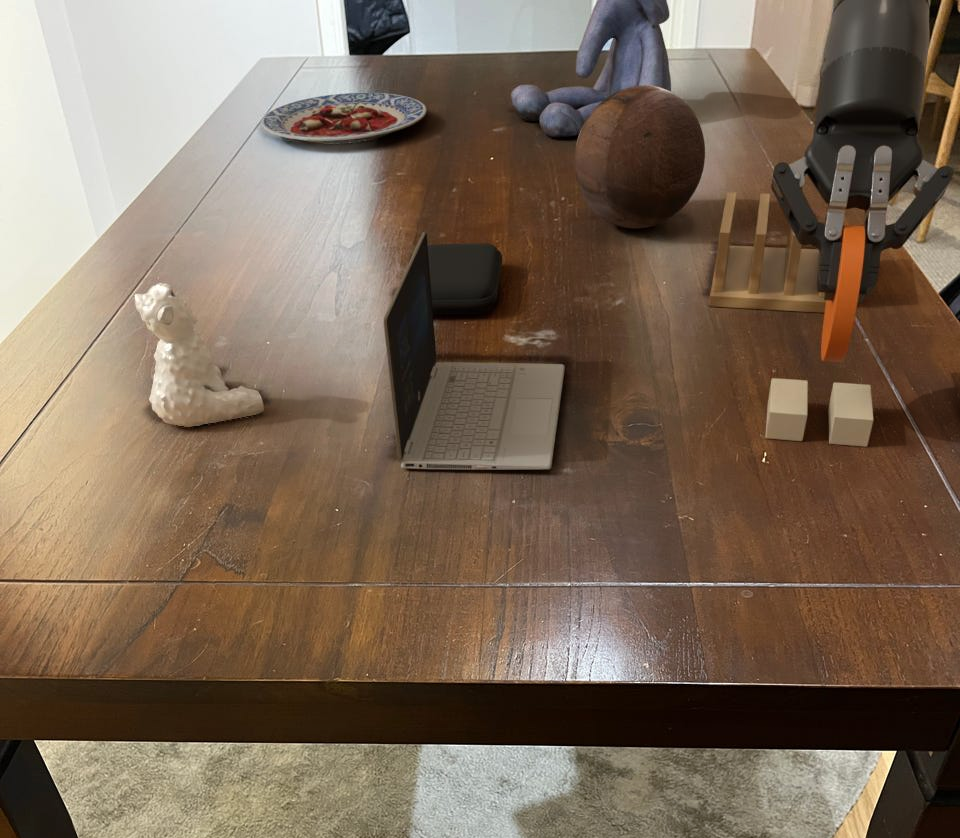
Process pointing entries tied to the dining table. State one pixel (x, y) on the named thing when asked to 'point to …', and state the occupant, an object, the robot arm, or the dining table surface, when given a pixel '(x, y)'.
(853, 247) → the disc
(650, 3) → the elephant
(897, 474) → the dining table surface
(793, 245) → the rack
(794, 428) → the cubes
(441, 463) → the laptop
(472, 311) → the carrying case
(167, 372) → the white creature statuette
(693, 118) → the wooden sphere
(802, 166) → the robot arm
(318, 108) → the ceramic plate
